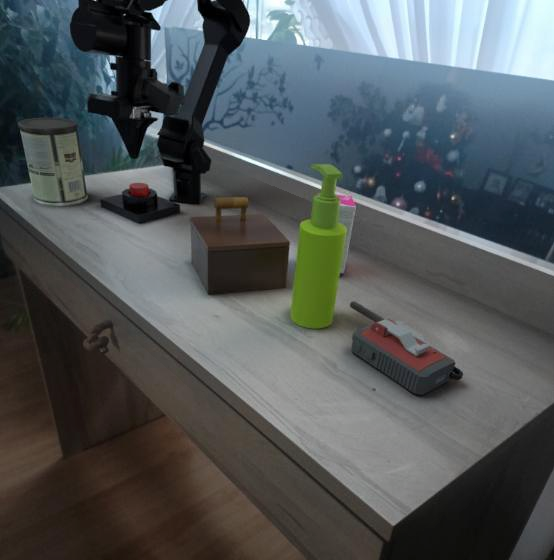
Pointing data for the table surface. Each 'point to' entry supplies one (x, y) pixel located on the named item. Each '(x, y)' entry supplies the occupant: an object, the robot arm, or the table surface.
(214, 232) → the lid
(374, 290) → the table surface
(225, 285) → the chest
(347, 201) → the supplement box
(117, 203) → the button box
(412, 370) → the walkie-talkie
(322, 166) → the soap dispenser
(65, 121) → the coffee can
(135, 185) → the button
